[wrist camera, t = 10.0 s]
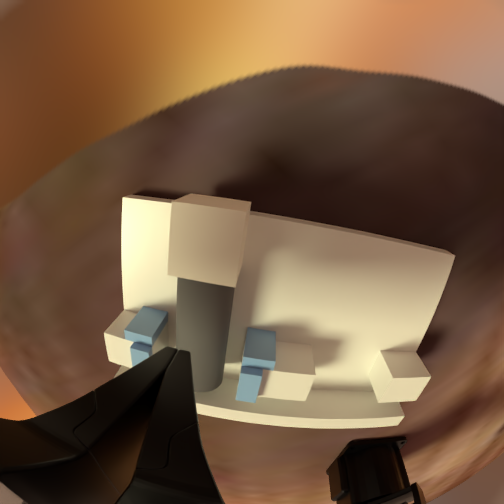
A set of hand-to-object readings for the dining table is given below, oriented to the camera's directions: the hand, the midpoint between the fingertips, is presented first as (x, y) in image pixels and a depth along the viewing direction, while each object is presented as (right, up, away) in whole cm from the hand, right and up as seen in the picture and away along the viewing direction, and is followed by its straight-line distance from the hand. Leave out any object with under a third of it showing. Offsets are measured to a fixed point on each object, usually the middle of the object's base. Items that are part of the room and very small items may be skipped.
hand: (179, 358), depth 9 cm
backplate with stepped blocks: (+4, 0, +7) cm, 8 cm away
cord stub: (0, +1, +5) cm, 6 cm away
